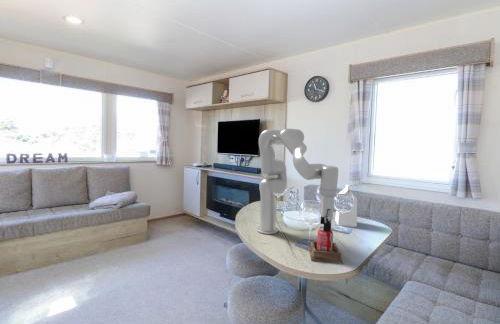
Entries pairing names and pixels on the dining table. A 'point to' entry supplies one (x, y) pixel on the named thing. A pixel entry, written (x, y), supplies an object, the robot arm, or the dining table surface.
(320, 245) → the soda can
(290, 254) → the dining table surface
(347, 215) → the milk
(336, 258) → the brown wooden tray
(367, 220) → the dining table surface
